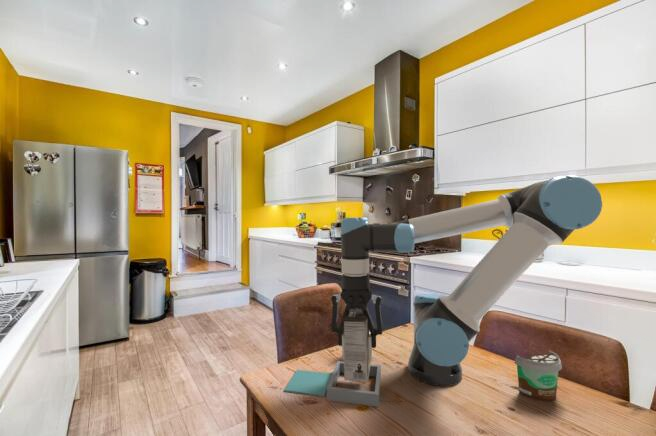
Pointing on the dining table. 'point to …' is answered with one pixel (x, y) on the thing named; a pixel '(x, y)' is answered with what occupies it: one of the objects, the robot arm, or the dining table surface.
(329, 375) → the mat
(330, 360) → the dining table surface
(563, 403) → the dining table surface
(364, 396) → the square frame
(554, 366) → the food container
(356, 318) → the coffee box
